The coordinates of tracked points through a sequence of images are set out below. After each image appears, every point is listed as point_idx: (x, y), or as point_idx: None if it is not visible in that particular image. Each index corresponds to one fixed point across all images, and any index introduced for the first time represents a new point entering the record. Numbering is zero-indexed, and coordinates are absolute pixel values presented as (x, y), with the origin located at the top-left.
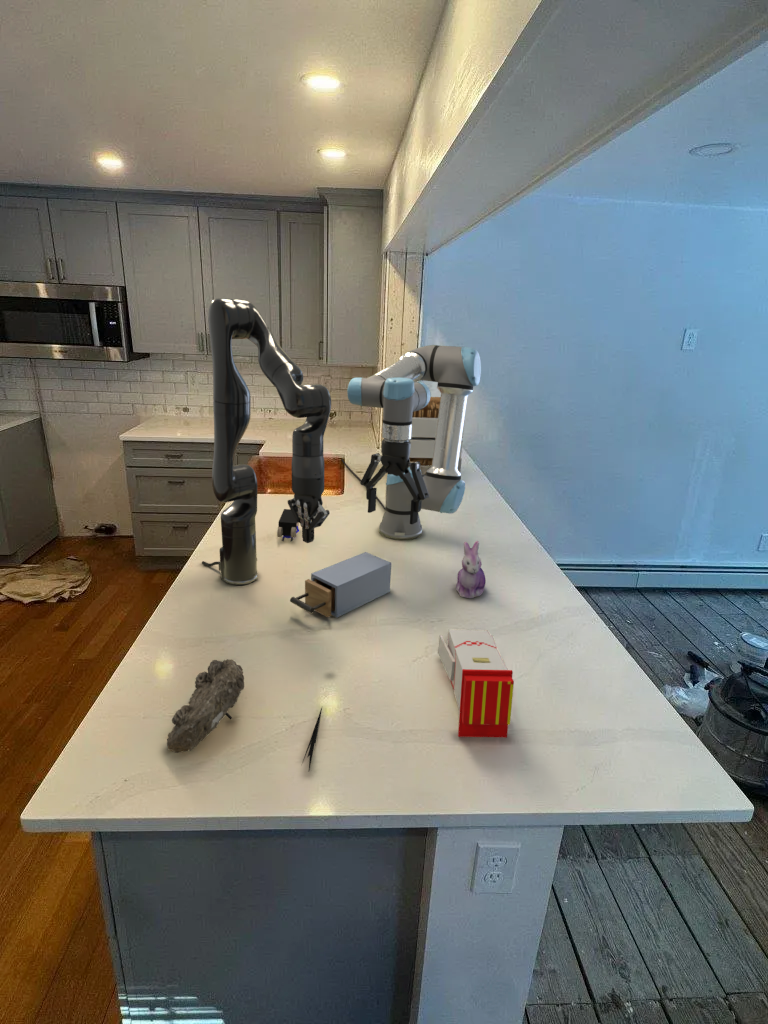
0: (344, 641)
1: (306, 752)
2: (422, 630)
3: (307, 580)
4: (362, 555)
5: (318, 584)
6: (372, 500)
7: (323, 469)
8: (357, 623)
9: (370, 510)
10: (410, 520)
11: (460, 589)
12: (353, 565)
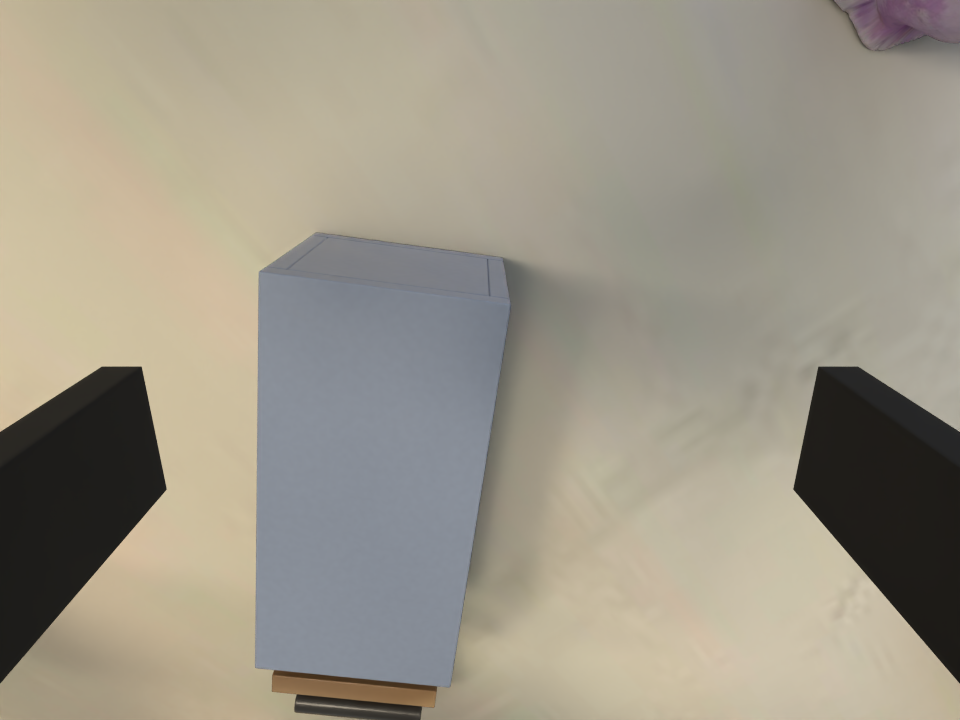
0: (577, 655)
1: None
2: (794, 452)
3: (281, 687)
4: (288, 337)
5: (349, 685)
6: (51, 556)
7: None
8: (545, 554)
9: (149, 498)
10: (825, 515)
11: (879, 23)
12: (351, 483)
